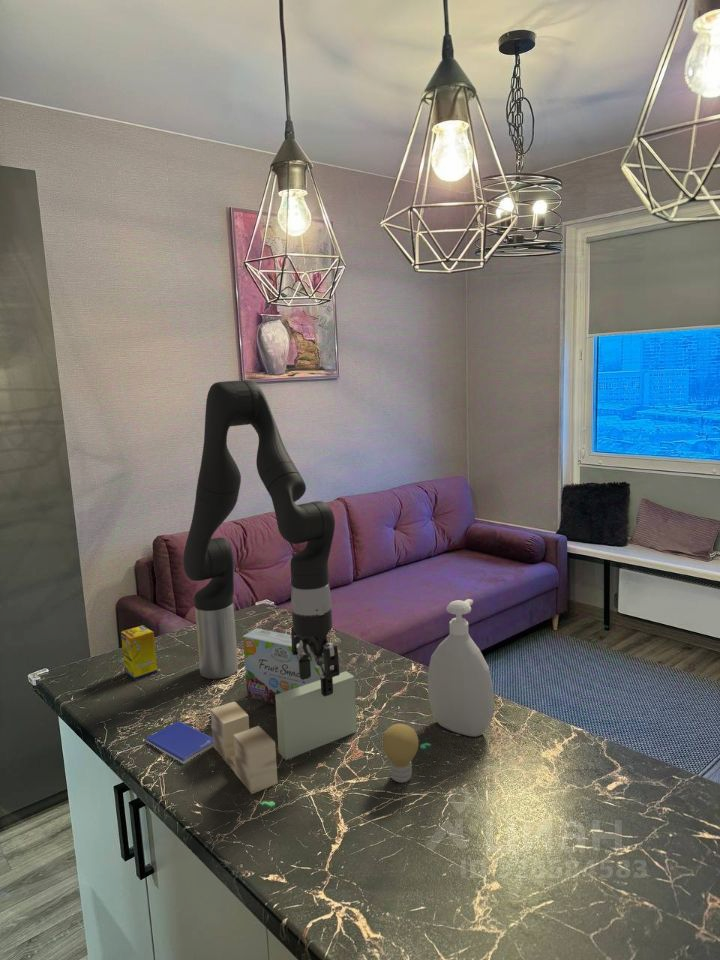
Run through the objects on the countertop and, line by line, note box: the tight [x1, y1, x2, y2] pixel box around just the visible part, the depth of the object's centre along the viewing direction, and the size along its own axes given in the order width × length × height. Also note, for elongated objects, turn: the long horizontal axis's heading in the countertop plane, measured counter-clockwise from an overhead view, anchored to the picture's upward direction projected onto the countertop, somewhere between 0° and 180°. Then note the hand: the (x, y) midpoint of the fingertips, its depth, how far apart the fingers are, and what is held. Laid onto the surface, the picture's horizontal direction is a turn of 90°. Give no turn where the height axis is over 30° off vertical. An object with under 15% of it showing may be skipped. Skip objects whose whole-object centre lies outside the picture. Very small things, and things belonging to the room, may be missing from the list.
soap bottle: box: [427, 598, 495, 737], centre depth 130 cm, size 14×8×27 cm, turn 53°
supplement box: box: [120, 624, 158, 681], centre depth 160 cm, size 6×6×11 cm
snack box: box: [242, 627, 335, 705], centre depth 143 cm, size 21×6×15 cm, turn 62°
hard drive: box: [145, 720, 213, 765], centre depth 130 cm, size 2×8×12 cm
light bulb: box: [381, 723, 419, 784], centre depth 115 cm, size 6×6×10 cm
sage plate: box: [275, 670, 358, 761], centre depth 128 cm, size 3×16×12 cm, turn 124°
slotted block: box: [210, 701, 278, 795], centre depth 121 cm, size 18×5×8 cm, turn 34°
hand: (316, 686), depth 126 cm, fingers open, 8 cm apart
